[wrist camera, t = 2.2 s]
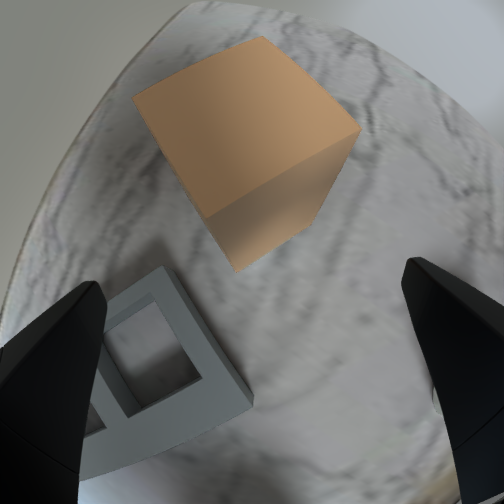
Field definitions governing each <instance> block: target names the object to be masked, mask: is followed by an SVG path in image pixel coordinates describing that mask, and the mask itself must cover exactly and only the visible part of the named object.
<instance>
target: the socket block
mask: <svg viewBox="0 0 504 504" xmlns="http://www.w3.org/2000/svg"><path fill="white" fill-rule="evenodd" d="M154 300H155V302H156V303H157V305H158V307H159V309H160V310H161V312H162V314H163V316H164V317H165V319H166V321H167V322H168V324H169V326H170V327H171V329H172V331H173V332H174V334H175V336H176V337H177V339H178V341H179V342H180V344H181V345H182V347H183V349H184V350H185V352H186V353H187V355H188V356H189V358H190V360H191V361H192V363H193V364H194V366H195V367H196V369H197V370H198V372H199V373H200V375H201V376H200V377H198V378H197V379H195V380H193V381H191V382H189V383H188V384H186V385H184V386H182V387H180V388H179V389H177V390H175V391H173V392H171V393H170V394H168V395H166V396H164V397H162V398H160V399H158V400H156V401H155V402H153V403H151V404H149V405H147V406H145V407H143V408H141V407H140V405H139V403H138V402H137V400H136V399H135V397H134V396H133V394H132V393H131V391H130V389H129V388H128V386H127V384H126V383H125V381H124V380H123V378H122V376H121V374H120V373H119V371H118V369H117V368H116V366H115V364H114V362H113V361H112V359H111V357H110V355H109V353H108V352H107V350H106V348H105V346H104V344H103V342H102V347H101V353H100V357H99V362H98V366H97V370H96V375H95V379H94V384H93V389H92V394H91V399H90V402H91V403H92V405H93V407H94V408H95V410H96V412H97V413H98V415H99V416H100V418H101V419H102V421H103V423H104V424H105V426H104V427H102V428H100V429H98V430H96V431H94V432H91V433H89V434H87V435H85V436H84V441H83V448H82V456H81V465H80V474H79V476H80V477H79V482H80V481H83V480H87V479H90V478H93V477H96V476H99V475H103V474H106V473H109V472H112V471H115V470H117V469H120V468H123V467H126V466H129V465H131V464H134V463H136V462H139V461H142V460H144V459H147V458H149V457H152V456H154V455H157V454H159V453H161V452H164V451H166V450H168V449H171V448H173V447H175V446H177V445H180V444H182V443H184V442H186V441H188V440H190V439H193V438H195V437H197V436H199V435H201V434H203V433H205V432H207V431H209V430H211V429H213V428H215V427H217V426H219V425H221V424H223V423H225V422H226V421H228V420H230V419H232V418H234V417H236V416H238V415H239V414H241V413H243V412H245V411H247V410H248V409H250V408H252V407H253V400H254V395H253V394H252V393H251V391H250V390H249V388H248V387H247V386H246V384H245V383H244V381H243V380H242V378H241V377H240V375H239V374H238V373H237V371H236V370H235V368H234V367H233V365H232V364H231V362H230V361H229V359H228V358H227V356H226V355H225V353H224V352H223V350H222V349H221V347H220V346H219V344H218V343H217V341H216V339H215V338H214V336H213V335H212V333H211V332H210V330H209V329H208V327H207V325H206V324H205V322H204V321H203V319H202V317H201V316H200V314H199V313H198V311H197V309H196V308H195V306H194V304H193V303H192V301H191V299H190V298H189V296H188V295H187V293H186V291H185V290H184V288H183V286H182V284H181V283H180V281H179V279H178V278H177V276H176V274H175V272H174V271H173V270H171V269H169V268H167V267H165V266H163V265H161V266H160V267H158V268H157V269H155V270H154V271H152V272H151V273H149V274H148V275H146V276H145V277H143V278H142V279H140V280H139V281H137V282H136V283H134V284H133V285H131V286H130V287H129V288H127V289H126V290H124V291H123V292H121V293H120V294H118V295H117V296H115V297H114V298H113V299H111V300H110V301H108V302H107V306H108V309H107V315H106V321H105V327H104V333H106V332H107V331H109V330H110V329H112V328H113V327H115V326H116V325H118V324H119V323H121V322H122V321H124V320H125V319H127V318H128V317H130V316H131V315H133V314H134V313H136V312H137V311H139V310H140V309H142V308H143V307H145V306H147V305H148V304H150V303H151V302H153V301H154Z"/></svg>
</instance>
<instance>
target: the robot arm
mask: <svg viewBox="0 0 504 504" xmlns="http://www.w3.org/2000/svg"><path fill="white" fill-rule="evenodd" d="M401 286H402V291H403V294H404V297H405V300H406V303H407V307H408V310H409V314H410V317H411V321H412V324H413V327H414V331H415V333H416V336H417V339H418V341H419V344H420V347H421V349H422V352H423V355H424V358H425V360H426V363H427V366H428V369H429V372H430V375H431V378H432V381H433V384H434V387H435V390H436V393H437V397H438V400H439V403H440V406H441V410H442V413H443V417H444V421H445V424H446V428H447V432H448V436H449V440H450V444H451V448H452V451H453V452H452V453H453V458H454V462H455V467H456V472H457V477H458V483H459V488H460V494H461V501H462V504H478V503H480V502H483V501H485V500H487V499H490V498H491V497H494V496H496V495H498V494H501V493H503V492H504V306H503V305H501V304H500V303H498V302H496V301H495V300H493V299H492V298H490V297H489V296H487V295H485V294H484V293H482V292H480V291H479V290H477V289H476V288H474V287H472V286H471V285H469V284H467V283H466V282H464V281H462V280H461V279H459V278H457V277H456V276H454V275H452V274H450V273H449V272H447V271H445V270H443V269H442V268H440V267H438V266H436V265H435V264H433V263H431V262H429V261H427V260H426V259H424V258H422V257H413V258H409V259H408V260H407V262H406V266H405V269H404V273H403V277H402V281H401ZM107 309H108V306H107V301H106V299H105V297H104V294H103V292H102V290H101V288H100V285H99V283H98V282H97V281H84V282H83V283H81V284H80V285H78V286H77V287H76V288H74V289H73V290H72V291H71V292H69V293H68V294H67V295H65V296H64V297H63V298H61V299H60V300H59V301H57V302H56V303H55V304H54V305H52V306H51V307H50V308H49V309H47V310H46V311H45V312H43V313H42V314H41V315H40V316H39V317H37V318H36V319H35V320H34V321H32V322H31V323H30V324H29V325H27V326H26V327H25V328H24V329H23V330H21V331H20V332H19V333H18V334H17V335H15V336H14V337H13V338H12V339H11V340H10V341H8V342H7V343H6V344H5V345H4V347H1V348H0V504H78V488H79V477H80V476H79V474H80V465H81V456H82V448H83V441H84V434H85V427H86V421H87V415H88V410H89V404H90V399H91V394H92V389H93V384H94V379H95V375H96V370H97V366H98V362H99V357H100V353H101V347H102V340H103V334H104V327H105V321H106V315H107ZM493 504H504V497H502V498H501V499H499V500H497V501H496V502H495V503H493Z"/></svg>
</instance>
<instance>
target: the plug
mask: <svg viewBox="0 0 504 504" xmlns="http://www.w3.org/2000/svg"><path fill="white" fill-rule="evenodd" d="M132 100H133V102H134V104H135V105H136V107H137V109H138V111H139V113H140V114H141V116H142V118H143V120H144V121H145V123H146V125H147V127H148V128H149V130H150V132H151V134H152V136H153V137H154V139H155V141H156V143H157V144H158V146H159V148H160V149H161V151H162V153H163V155H164V156H165V158H166V160H167V162H168V163H169V165H170V167H171V169H172V170H173V172H174V174H175V175H176V177H177V179H178V180H179V182H180V184H181V186H182V187H183V189H184V191H185V192H186V194H187V196H188V197H189V199H190V201H191V202H192V204H193V206H194V207H195V209H196V210H197V212H198V214H199V215H200V217H201V218H202V220H203V222H204V223H205V225H206V226H207V228H208V230H209V231H210V233H211V234H212V236H213V237H214V239H215V241H216V242H217V244H218V245H219V247H220V248H221V250H222V252H223V253H224V255H225V256H226V258H227V259H228V261H229V262H230V264H231V266H232V267H233V269H234V270H235V272H236V273H237V272H239V271H240V270H243V269H245V268H246V267H248V266H249V265H251V264H253V263H254V262H256V261H257V260H259V259H260V258H262V257H263V256H265V255H266V254H268V253H270V252H271V251H273V250H274V249H276V248H277V247H279V246H280V245H282V244H283V243H285V242H286V241H288V240H290V239H291V238H293V236H294V235H296V234H298V233H299V232H301V231H302V230H304V229H305V228H307V227H308V226H310V225H311V224H312V222H313V220H314V218H315V217H316V215H317V213H318V211H319V209H320V208H321V206H322V204H323V202H324V200H325V198H326V197H327V195H328V193H329V191H330V189H331V187H332V185H333V184H334V182H335V180H336V178H337V176H338V174H339V172H340V170H341V168H342V167H343V165H344V163H345V161H346V159H347V157H348V155H349V153H350V151H351V149H352V147H353V145H354V144H355V142H356V140H357V138H358V136H359V134H360V132H361V130H362V128H361V127H360V126H359V124H358V123H357V122H356V121H355V120H354V119H353V118H352V117H351V116H350V115H349V114H348V113H347V112H346V111H345V109H344V108H343V107H342V106H341V105H340V104H339V103H338V102H337V101H336V100H335V99H334V98H333V97H332V96H331V95H330V94H329V93H328V92H327V91H326V90H325V89H324V88H323V87H321V86H320V85H319V84H318V83H317V82H316V81H315V80H314V79H313V78H312V77H311V76H310V75H309V74H308V73H306V72H305V71H304V70H303V69H302V68H301V67H300V66H299V65H297V64H296V63H295V62H294V61H293V60H292V59H291V58H289V57H288V56H287V55H286V54H285V53H283V52H282V51H281V50H280V49H279V48H277V47H276V46H275V45H274V44H272V43H271V42H270V41H269V40H267V39H266V38H265V37H264V36H261V37H258V38H255V39H252V40H250V41H247V42H244V43H242V44H239V45H236V46H234V47H231V48H229V49H227V50H224V51H222V52H219V53H217V54H215V55H212V56H210V57H208V58H206V59H203V60H201V61H199V62H197V63H195V64H193V65H191V66H189V67H187V68H184V69H182V70H180V71H179V72H177V73H175V74H173V75H171V76H169V77H167V78H165V79H163V80H161V81H160V82H158V83H156V84H154V85H152V86H151V87H149V88H147V89H145V90H144V91H142V92H140V93H138V94H137V95H135V96H133V97H132Z"/></svg>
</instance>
